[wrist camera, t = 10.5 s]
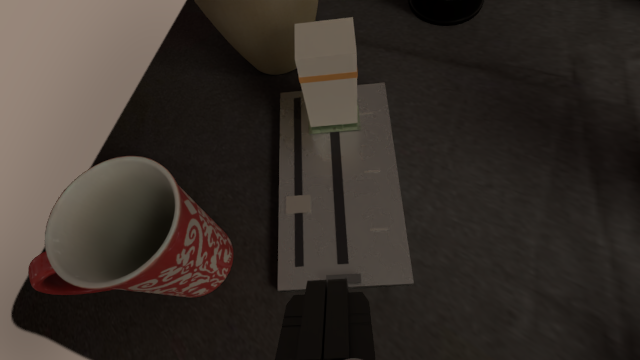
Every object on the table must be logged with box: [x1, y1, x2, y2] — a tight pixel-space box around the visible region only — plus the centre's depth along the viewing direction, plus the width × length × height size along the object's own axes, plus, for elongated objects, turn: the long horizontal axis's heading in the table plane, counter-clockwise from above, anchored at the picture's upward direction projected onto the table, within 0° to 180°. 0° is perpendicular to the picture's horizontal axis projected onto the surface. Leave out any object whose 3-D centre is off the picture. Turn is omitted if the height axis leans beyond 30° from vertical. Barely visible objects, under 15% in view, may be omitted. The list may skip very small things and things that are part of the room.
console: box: [278, 83, 414, 292], centre depth 35 cm, size 12×22×2 cm, turn 2°
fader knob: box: [294, 17, 358, 127], centre depth 33 cm, size 5×4×10 cm
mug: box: [28, 156, 233, 297], centre depth 28 cm, size 13×9×14 cm
